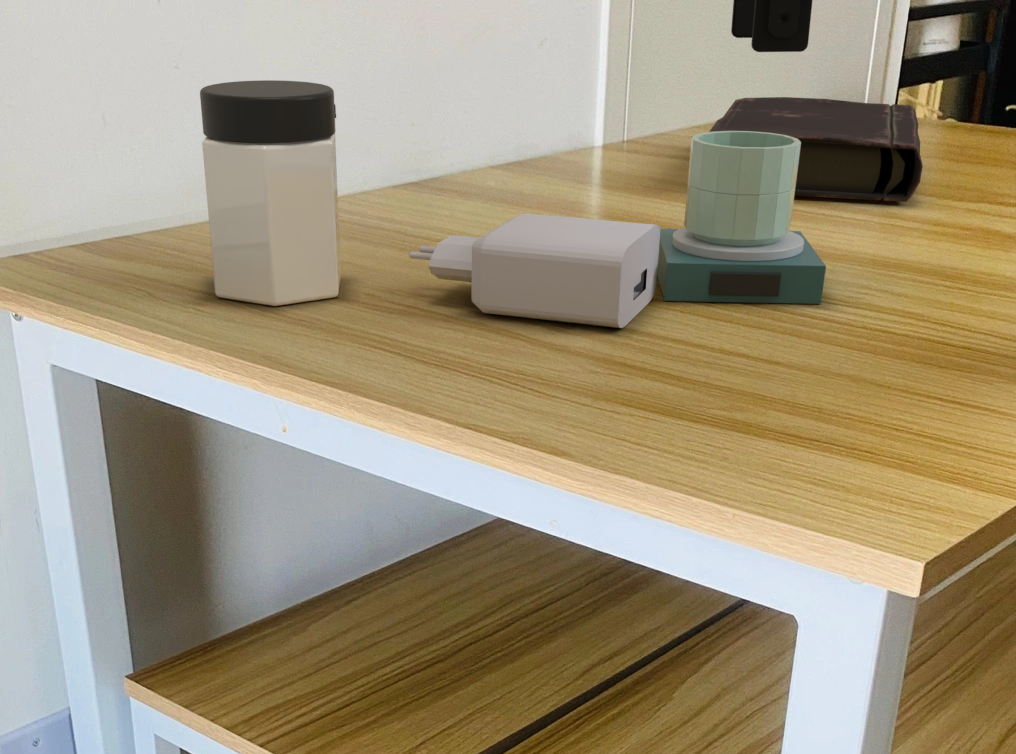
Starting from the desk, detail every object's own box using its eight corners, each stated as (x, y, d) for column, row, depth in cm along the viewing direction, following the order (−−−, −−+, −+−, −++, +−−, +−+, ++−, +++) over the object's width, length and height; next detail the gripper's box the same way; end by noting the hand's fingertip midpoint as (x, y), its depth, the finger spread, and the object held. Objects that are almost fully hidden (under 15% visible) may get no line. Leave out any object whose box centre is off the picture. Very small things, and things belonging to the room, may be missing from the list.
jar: (371, 283, 91) (365, 86, 85) (303, 312, 85) (291, 101, 78) (259, 267, 94) (245, 76, 88) (186, 294, 88) (166, 90, 82)
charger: (441, 274, 93) (656, 296, 89) (387, 308, 86) (618, 333, 81) (441, 201, 91) (662, 220, 86) (385, 229, 83) (623, 251, 79)
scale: (796, 266, 96) (801, 222, 95) (821, 305, 87) (828, 257, 86) (653, 263, 96) (656, 219, 95) (664, 302, 88) (668, 254, 86)
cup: (779, 226, 93) (791, 131, 90) (795, 249, 88) (808, 149, 84) (679, 224, 93) (687, 129, 90) (688, 247, 88) (697, 147, 85)
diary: (912, 157, 135) (921, 101, 132) (916, 206, 114) (927, 141, 112) (722, 147, 139) (727, 93, 136) (693, 193, 118) (698, 130, 116)
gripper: (901, -326, 68) (856, 57, 77) (836, -285, 83) (805, 32, 91) (749, -322, 68) (721, 58, 77) (711, -282, 83) (692, 33, 92)
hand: (767, 43), depth 84 cm, fingers open, 9 cm apart
